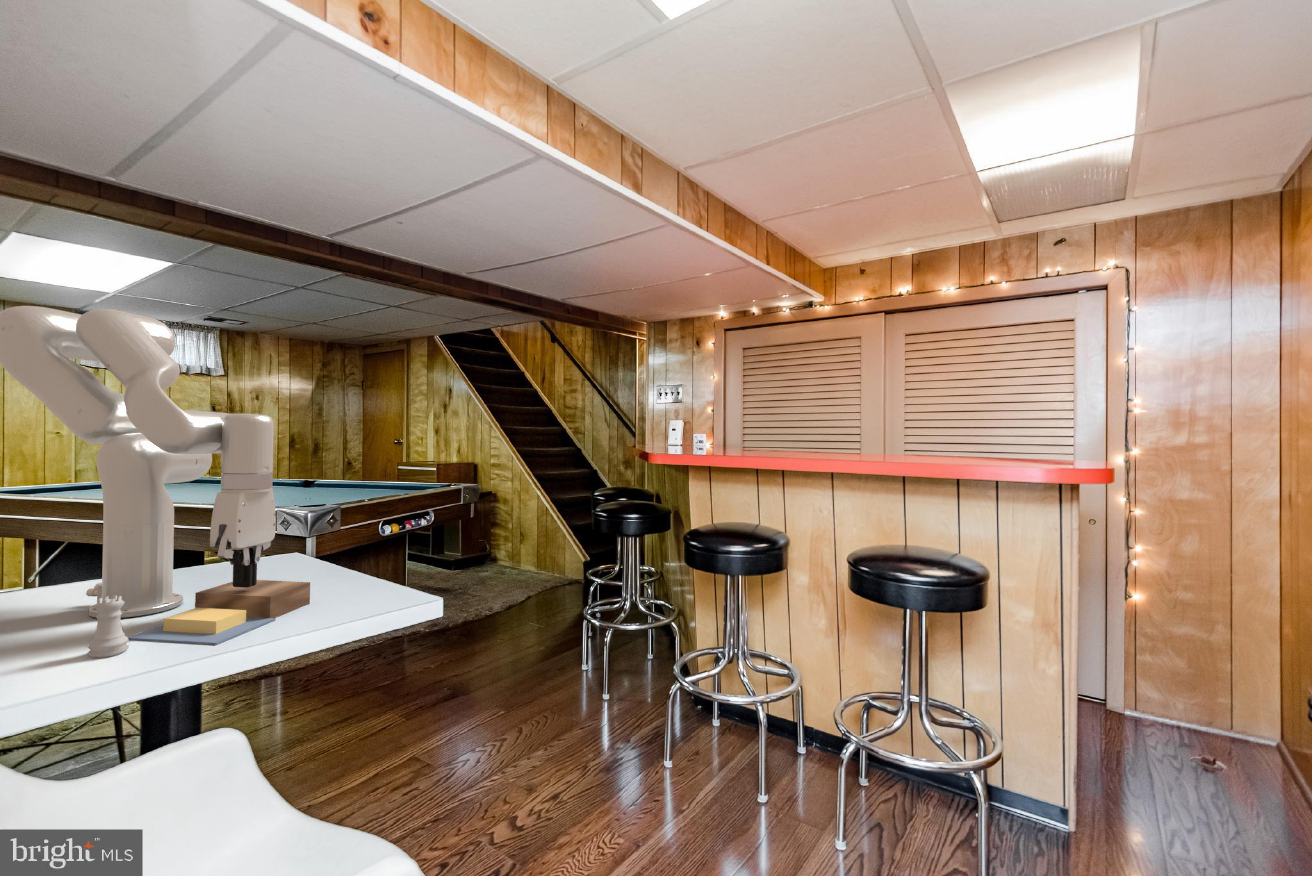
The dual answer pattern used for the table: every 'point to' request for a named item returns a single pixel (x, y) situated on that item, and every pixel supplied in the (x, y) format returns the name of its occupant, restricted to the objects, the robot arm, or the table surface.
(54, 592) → the table surface
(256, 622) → the mat
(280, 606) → the wooden block
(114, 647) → the rook chess piece
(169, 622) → the yellow kitchen sponge
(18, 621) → the table surface
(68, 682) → the table surface
